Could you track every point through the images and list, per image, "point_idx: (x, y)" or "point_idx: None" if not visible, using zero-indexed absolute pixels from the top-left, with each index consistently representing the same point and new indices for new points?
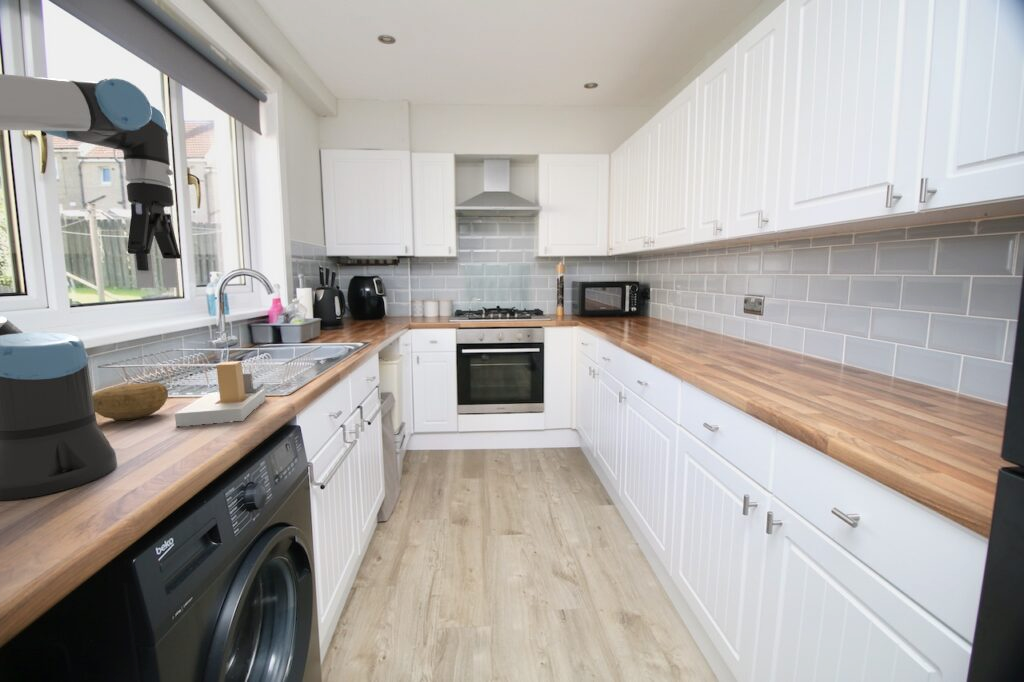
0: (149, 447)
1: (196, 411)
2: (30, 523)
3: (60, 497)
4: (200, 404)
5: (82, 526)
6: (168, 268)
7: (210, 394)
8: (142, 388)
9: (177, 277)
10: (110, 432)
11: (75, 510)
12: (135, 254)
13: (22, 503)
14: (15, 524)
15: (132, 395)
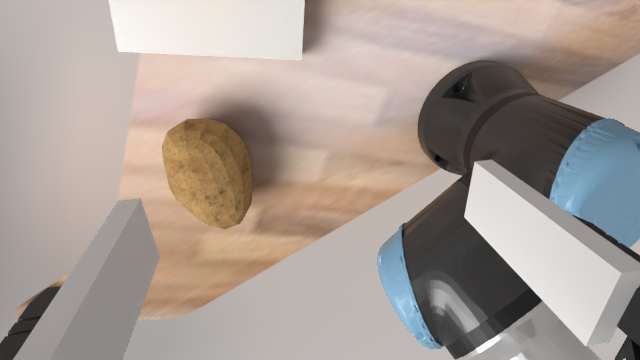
0: (400, 54)
1: (300, 18)
2: (586, 71)
3: (534, 79)
4: (239, 30)
5: (629, 13)
6: (109, 324)
7: (136, 40)
8: (221, 158)
9: (104, 238)
10: (294, 152)
11: (582, 42)
12: (610, 336)
13: None
14: (579, 84)
15: (240, 164)
